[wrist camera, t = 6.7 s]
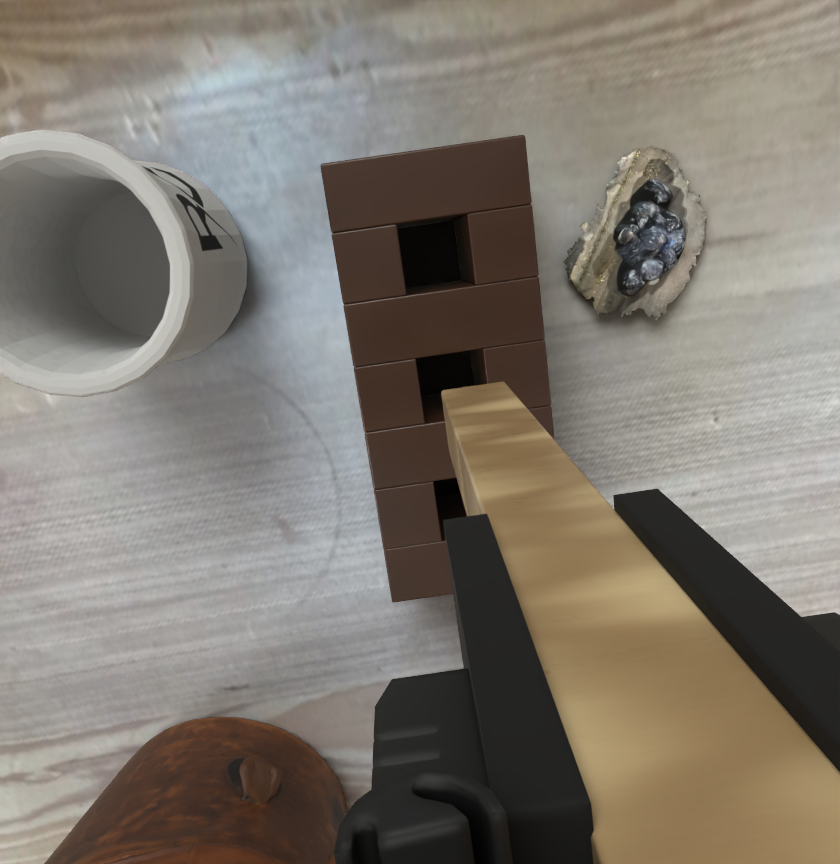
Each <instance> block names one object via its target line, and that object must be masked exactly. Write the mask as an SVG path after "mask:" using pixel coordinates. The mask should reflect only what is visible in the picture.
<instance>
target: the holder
mask: <svg viewBox="0 0 840 864" xmlns="http://www.w3.org/2000/svg"><path fill="white" fill-rule="evenodd" d="M321 172H322V178H323V184H324V191H325V197H326V203H327V209H328V215H329V221H330V227H331V231H332V233H333V234H332V239H333V245H334V251H335V257H336V263H337V269H338V276H339V282H340V288H341V294H342V300H343V303H344V312H345V318H346V324H347V330H348V336H349V342H350V348H351V354H352V360H353V366H354V373H355V379H356V385H357V391H358V397H359V403H360V409H361V415H362V421H363V427H364V431H365V439H366V445H367V451H368V457H369V463H370V469H371V475H372V481H373V487H374V494H375V500H376V506H377V512H378V518H379V524H380V530H381V536H382V542H383V548H384V555H385V561H386V567H387V573H388V579H389V585H390V591H391V597H392V602H400V601H407V600H414V599H420V598H427V597H434V596H441V595H447V594H453V587H452V580H451V573H450V566H449V559H448V552H447V545H446V538H445V531H444V523H443V520H446V519H453V518H460V517H466V516H467V514H466V510H465V507H464V503H463V499H462V496H461V493H456V494H449V495H443V496H435V489H434V482H433V481H438V480H445V479H452V478H456V474H455V471H454V467H453V463H452V460H451V456H450V453H449V448H448V440H447V433H446V425H445V418H444V411H443V403H442V396H441V394H434V395H427V396H421V391H420V384H419V377H418V370H417V363H416V358H422V357H429V356H436V355H443V354H449V353H456V352H463V351H470V357H471V365H472V373H473V381H474V386H476V385H482V384H489V383H496V382H505V383H506V384H507V386H508V387H509V388H510V389H511V390H512V391H513V393H514V394H515V395H516V396H517V397H518V398H519V400H520V401H521V402H522V403H523V404H524V405H525V407H526V408H527V409H528V410H529V411H530V412H531V413H532V415H533V416H534V417H535V418H536V419H537V420H538V422H539V423H540V424H541V425H542V426H543V427H544V429H545V430H546V431H547V432H548V433H549V434H550V436H551V437H552V438H553V439H554V431H553V421H552V410H551V406H550V405H551V398H550V388H549V378H548V367H547V357H546V346H545V340H543V339H544V338H545V337H544V327H543V317H542V306H541V296H540V285H539V278H538V277H537V276H538V264H537V253H536V243H535V233H534V222H533V212H532V205H530V204H531V192H530V182H529V172H528V161H527V151H526V140H525V136H524V135H519V136H512V137H505V138H498V139H491V140H484V141H477V142H470V143H463V144H456V145H449V146H442V147H435V148H428V149H421V150H414V151H408V152H401V153H394V154H387V155H380V156H373V157H366V158H359V159H352V160H345V161H338V162H331V163H324V164H321ZM453 220H455V221H454V227H455V235H456V243H457V251H458V259H459V267H460V276H461V280H458V281H451V282H444V283H437V284H431V285H424V286H417V287H410V288H406V286H405V279H404V272H403V265H402V258H401V251H400V244H399V237H398V230H397V229H398V228H405V227H412V226H419V225H426V224H433V223H439V222H446V221H453Z"/></svg>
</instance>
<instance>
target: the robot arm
mask: <svg viewBox="0 0 840 864" xmlns="http://www.w3.org/2000/svg"><path fill="white" fill-rule="evenodd" d="M613 496H614V509H615V511H616V512H617V514H618V515H619V516H620V517H621V518H622V519H623V521H624V522H625V523H626V524H627V525H628V526H629V528H630V529H631V530H632V531H633V532H634V533H635V535H636V536H637V537H638V538H639V539H640V540H641V542H642V543H643V544H644V545H645V546H646V547H647V548H648V550H649V551H650V552H651V553H652V554H653V555H654V557H655V558H656V559H657V560H658V561H659V562H660V564H661V565H662V566H663V567H664V568H665V569H666V571H667V572H668V573H669V574H670V575H671V576H672V578H673V579H674V580H675V581H676V582H677V583H678V585H679V586H680V587H681V588H682V589H683V590H684V592H685V593H686V594H687V595H688V596H689V597H690V599H691V600H692V601H693V602H694V603H695V604H696V606H697V607H698V608H699V609H700V610H701V611H702V613H703V614H704V615H705V616H706V617H707V618H708V619H709V621H710V622H711V623H712V624H713V625H714V626H715V628H716V629H717V630H718V631H719V632H720V633H721V635H722V636H723V637H724V638H725V639H726V640H727V642H728V643H729V644H730V645H731V646H732V647H733V649H734V650H735V651H736V652H737V653H738V654H739V656H740V657H741V658H742V659H743V660H744V661H745V663H746V664H747V665H748V666H749V667H750V668H751V670H752V671H753V672H754V673H755V674H756V675H757V677H758V678H759V679H760V680H761V681H762V682H763V684H764V685H765V686H766V687H767V688H768V689H769V690H770V692H771V693H772V694H773V695H774V696H775V697H776V699H777V700H778V701H779V702H780V703H781V704H782V706H783V707H784V708H785V709H786V710H787V711H788V713H789V714H790V715H791V716H792V717H793V718H794V720H795V721H796V722H797V723H798V724H799V725H800V727H801V728H802V729H803V730H804V731H805V732H806V734H807V735H808V736H809V737H810V738H811V739H812V741H813V742H814V743H815V744H816V745H817V746H818V748H819V749H820V750H821V751H822V752H823V753H824V755H825V756H826V757H827V758H828V759H829V760H830V762H831V763H832V764H833V765H834V766H835V767H836V768H837V770H838V771H839V772H840V615H839V614H837V613H827V614H820V615H813V616H806V617H801V616H799V615H798V614H797V613H796V612H795V611H794V610H793V609H792V608H791V607H789V606H788V605H787V604H786V603H785V602H784V601H783V600H782V599H780V598H779V597H778V596H777V595H776V594H775V593H774V592H773V591H771V590H770V589H769V588H768V587H767V586H766V585H765V584H764V583H763V582H761V581H760V580H759V579H758V578H757V577H756V576H755V575H754V574H752V573H751V572H750V571H749V570H748V569H747V568H746V567H745V566H743V565H742V564H741V563H740V562H739V561H738V560H737V559H736V558H735V557H733V556H732V555H731V554H730V553H729V552H728V551H727V550H726V549H724V548H723V547H722V546H721V545H720V544H719V543H718V542H717V541H715V540H714V539H713V538H712V537H711V536H710V535H709V534H708V533H707V532H705V531H704V530H703V529H702V528H701V527H700V526H699V525H698V524H696V523H695V522H694V521H693V520H692V519H691V518H690V517H689V516H687V515H686V514H685V513H684V512H683V511H682V510H681V509H680V508H679V507H677V506H676V505H675V504H674V503H673V502H672V501H671V500H670V499H668V498H667V497H666V496H665V495H664V494H663V493H662V492H661V491H659V490H658V489H653V490H646V491H639V492H632V493H625V494H618V495H613ZM443 523H444V531H445V538H446V545H447V552H448V559H449V566H450V573H451V580H452V587H453V594H454V601H455V609H456V616H457V623H458V630H459V637H460V644H461V651H462V658H463V665H464V669H460V670H453V671H446V672H439V673H432V674H426V675H419V676H412V677H405V678H398V679H392V680H391V682H390V683H389V685H388V687H387V688H386V690H385V691H384V693H383V695H382V696H381V698H380V699H379V701H378V703H377V704H376V706H375V721H374V745H373V769H372V790H370V791H369V792H368V793H366V794H365V795H364V796H362V797H361V798H360V799H358V800H357V801H356V802H355V803H354V805H353V806H352V808H351V809H350V811H349V812H348V814H347V815H346V816H345V818H344V819H343V821H342V822H341V824H340V825H339V829H338V834H337V839H336V844H335V849H334V858H335V862H336V864H593V855H592V844H591V836H592V834H593V831H594V827H593V817H592V807H591V802H590V799H589V796H588V793H587V790H586V788H585V785H584V782H583V779H582V776H581V774H580V771H579V768H578V765H577V763H576V760H575V757H574V754H573V751H572V749H571V746H570V743H569V740H568V737H567V735H566V732H565V729H564V726H563V724H562V721H561V718H560V715H559V712H558V710H557V707H556V704H555V701H554V698H553V696H552V693H551V690H550V687H549V685H548V682H547V679H546V676H545V673H544V671H543V668H542V665H541V662H540V659H539V657H538V654H537V651H536V648H535V645H534V643H533V640H532V637H531V634H530V632H529V629H528V626H527V623H526V620H525V618H524V615H523V612H522V609H521V606H520V604H519V601H518V598H517V595H516V593H515V590H514V587H513V584H512V581H511V579H510V576H509V573H508V570H507V567H506V565H505V562H504V559H503V556H502V554H501V551H500V548H499V545H498V542H497V540H496V537H495V534H494V531H493V528H492V526H491V523H490V520H489V517H488V515H487V514H480V515H473V516H466V517H460V518H453V519H446V520H443Z"/></svg>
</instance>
